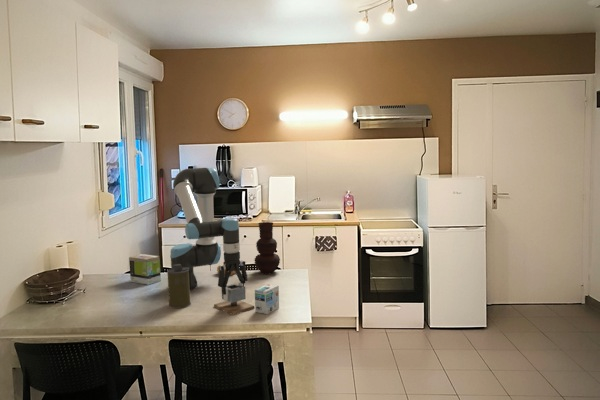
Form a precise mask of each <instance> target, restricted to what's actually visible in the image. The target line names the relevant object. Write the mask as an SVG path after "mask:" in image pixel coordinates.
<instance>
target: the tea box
mask: <svg viewBox="0 0 600 400" xmlns="http://www.w3.org/2000/svg"><path fill="white" fill-rule="evenodd" d="M128 260H129V261H128V262H129V278H130V282H132V283H136V284H142V285H148V286H149V285H151V284H152V285H153V284H155V283H159V282H161V280H162V278H161V261H160V255H153V254H145V253H140V254H136V255H132V256H129V257H128Z"/></svg>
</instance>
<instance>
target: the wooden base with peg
mask: <svg viewBox="0 0 600 400" xmlns="http://www.w3.org/2000/svg"><path fill="white" fill-rule="evenodd" d="M213 307H214V308H216V309H218V308H219V310H221V311H223V310H224V312H226V313H228V312H229V313H228V314H230V313H231V315H233V314H234V315H237V313H238V314H240V312H241V313H243V312H246V311H249V310H250V309H251V310H254V309H255V305H254V304H250V303H249V302H245V301H244V300H240V301H237V302H233V303H230V302H228V301H224V300H223V301H221V302H217V303H214V304H213ZM253 308H254V309H253ZM251 310H250V311H251Z"/></svg>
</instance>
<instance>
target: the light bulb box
mask: <svg viewBox="0 0 600 400" xmlns="http://www.w3.org/2000/svg"><path fill="white" fill-rule="evenodd" d="M279 293H280V291H279V285H276V284H275V285H274V284H270V283H266V284H264V285H261V286H260V287H257V288H255V289H254V309H255V311H254V312H255V313H259V314H264V315H267V314H270V313H271V312H273V311H275V310H278V309H279V308H280V295H279Z"/></svg>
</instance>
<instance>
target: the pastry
mask: <svg viewBox="0 0 600 400" xmlns="http://www.w3.org/2000/svg"><path fill="white" fill-rule="evenodd" d="M224 263H225V261H224V260H223V263H222V264H219V265H218V266H217V267H216V272H217V273H218V274H219V266H222V265H224ZM225 269H226V268H225ZM228 272H229V271H228ZM235 274H236V272H235V271H232V272H231V274H230V276H234V275H235ZM224 275H225V270H224Z"/></svg>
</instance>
